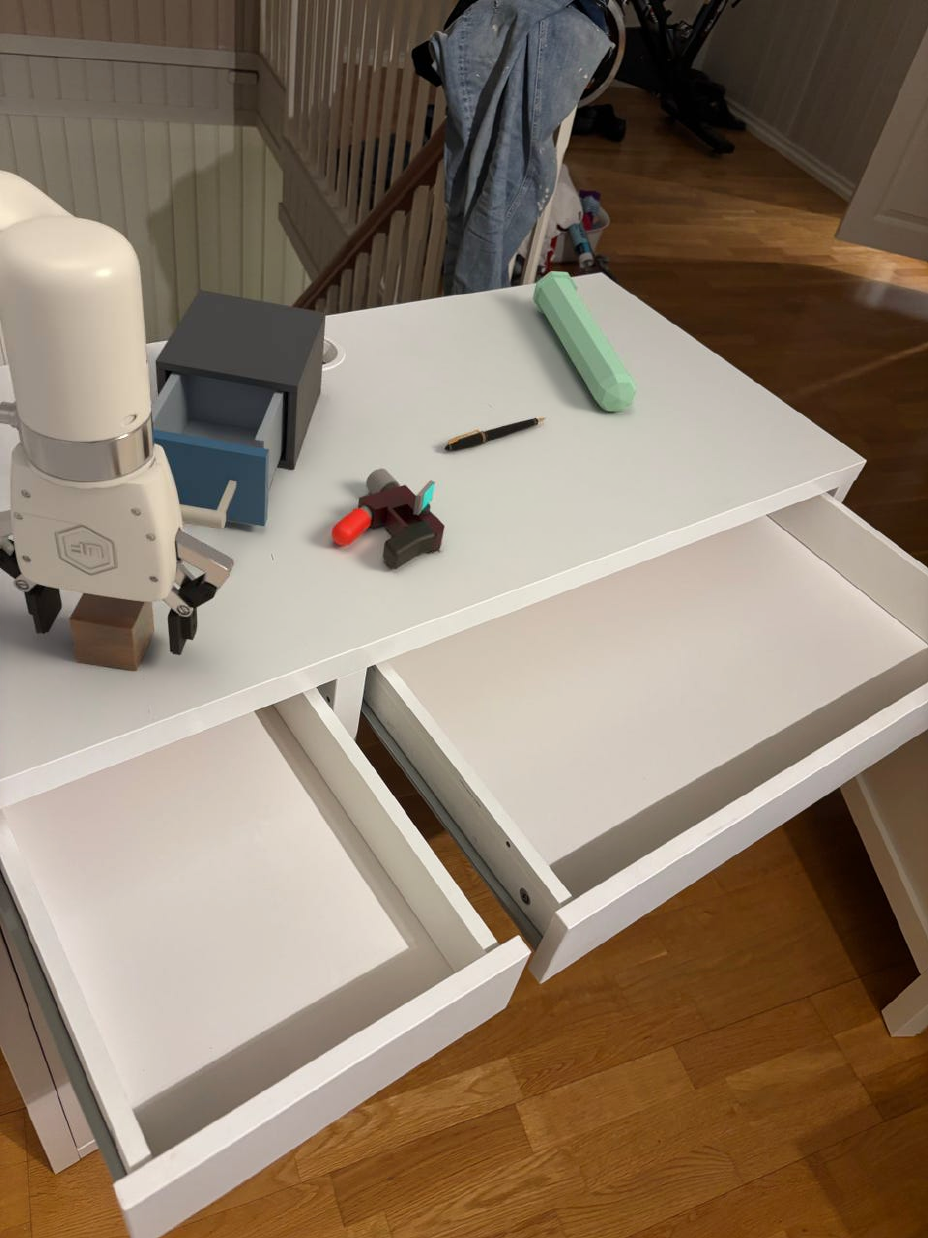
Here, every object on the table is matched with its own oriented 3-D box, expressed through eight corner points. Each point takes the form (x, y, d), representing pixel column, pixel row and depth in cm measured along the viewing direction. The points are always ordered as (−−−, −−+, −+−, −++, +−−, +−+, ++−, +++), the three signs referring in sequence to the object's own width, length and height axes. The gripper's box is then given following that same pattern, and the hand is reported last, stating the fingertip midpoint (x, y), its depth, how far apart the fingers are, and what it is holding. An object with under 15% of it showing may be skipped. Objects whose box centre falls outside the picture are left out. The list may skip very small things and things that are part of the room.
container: (644, 369, 103) (573, 263, 119) (592, 386, 103) (528, 278, 119) (647, 412, 107) (578, 304, 124) (598, 428, 107) (535, 318, 124)
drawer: (249, 569, 78) (249, 498, 73) (109, 546, 77) (100, 472, 72) (294, 441, 92) (297, 375, 87) (177, 421, 91) (173, 352, 86)
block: (75, 662, 69) (68, 619, 66) (96, 620, 72) (90, 578, 69) (136, 671, 69) (131, 629, 66) (154, 630, 72) (151, 588, 69)
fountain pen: (542, 420, 104) (545, 408, 103) (549, 425, 103) (552, 413, 102) (439, 451, 96) (441, 438, 95) (446, 457, 96) (448, 444, 94)
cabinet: (293, 470, 90) (297, 385, 84) (160, 446, 89) (155, 360, 83) (320, 392, 100) (325, 312, 94) (202, 371, 100) (199, 289, 93)
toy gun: (385, 479, 91) (390, 437, 88) (455, 553, 85) (464, 510, 81) (295, 504, 86) (297, 460, 83) (363, 584, 80) (368, 540, 77)
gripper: (-85, 443, 54) (-27, 648, 66) (215, 493, 55) (220, 686, 67) (-27, 378, 60) (17, 579, 72) (244, 425, 61) (245, 615, 73)
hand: (115, 631), depth 69 cm, fingers open, 9 cm apart
